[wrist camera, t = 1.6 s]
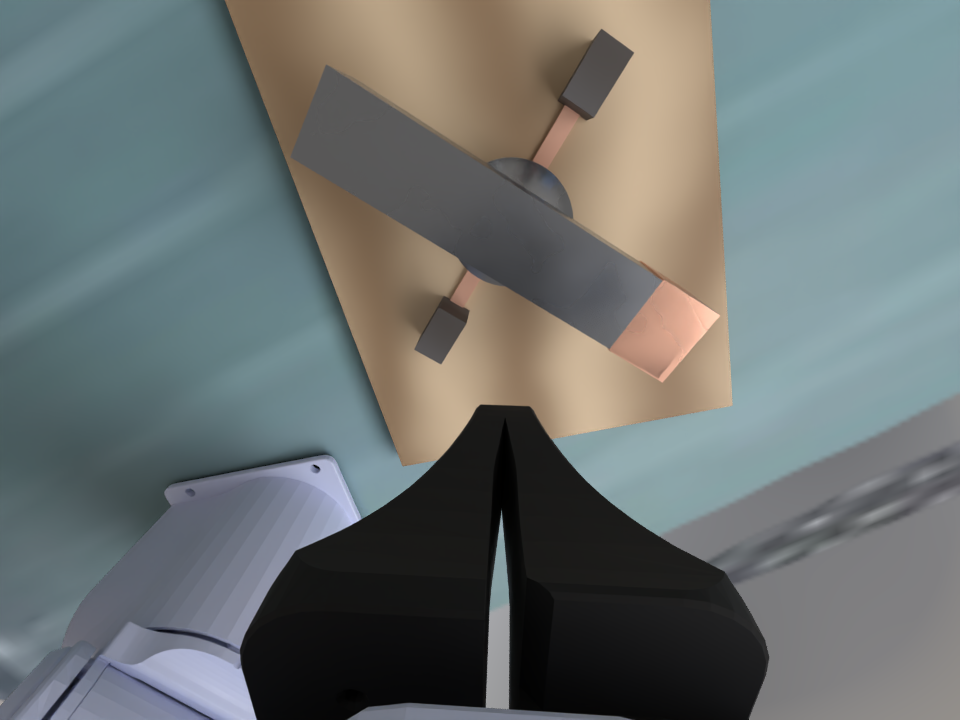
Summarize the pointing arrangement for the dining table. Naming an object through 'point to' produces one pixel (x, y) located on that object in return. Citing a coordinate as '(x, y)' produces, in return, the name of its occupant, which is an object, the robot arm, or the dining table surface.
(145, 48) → the dining table surface
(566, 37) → the latch board
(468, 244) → the copper-tipped steel bar
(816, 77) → the dining table surface
